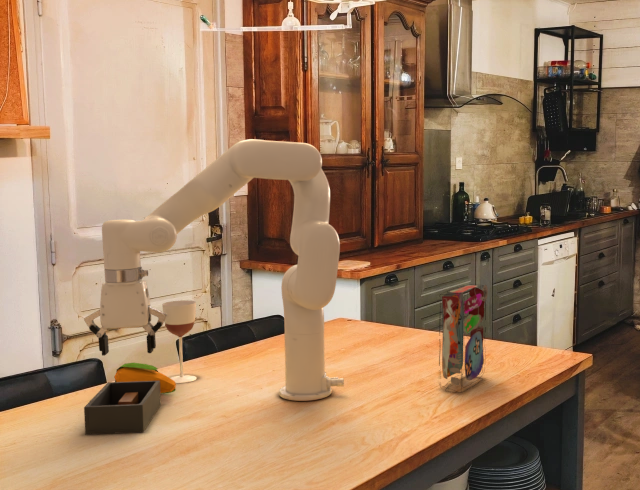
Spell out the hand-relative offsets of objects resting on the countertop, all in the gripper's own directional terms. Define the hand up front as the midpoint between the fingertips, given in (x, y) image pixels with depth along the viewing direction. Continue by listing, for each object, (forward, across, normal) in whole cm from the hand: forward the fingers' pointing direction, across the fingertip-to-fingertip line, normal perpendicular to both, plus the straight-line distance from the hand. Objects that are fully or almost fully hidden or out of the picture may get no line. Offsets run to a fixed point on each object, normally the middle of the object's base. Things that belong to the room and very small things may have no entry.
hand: (128, 353), depth 171 cm
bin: (+14, +1, +3) cm, 14 cm away
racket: (+13, +1, +3) cm, 14 cm away
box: (+16, -80, -18) cm, 84 cm away
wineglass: (+14, -6, -29) cm, 33 cm away
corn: (+14, 0, -16) cm, 21 cm away
